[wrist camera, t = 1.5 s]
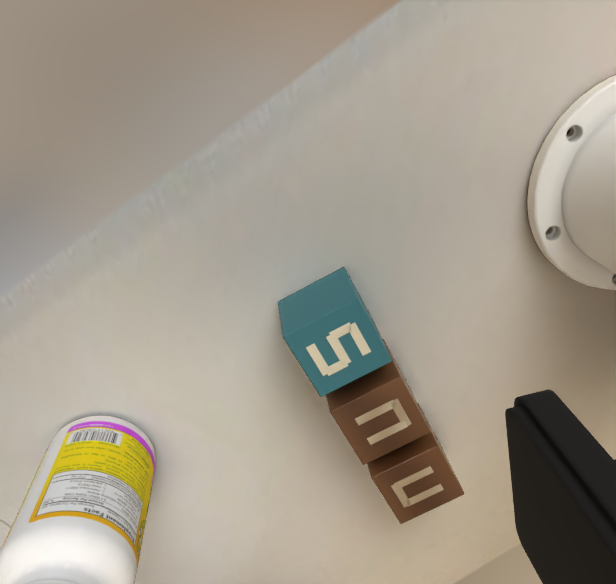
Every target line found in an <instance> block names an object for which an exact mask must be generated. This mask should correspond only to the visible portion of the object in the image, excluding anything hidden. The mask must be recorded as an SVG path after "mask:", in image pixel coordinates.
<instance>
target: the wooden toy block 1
mask: <svg viewBox="0 0 616 584" xmlns="http://www.w3.org/2000/svg"><path fill="white" fill-rule="evenodd" d="M382 340H383V339H382ZM383 342H384V344H385V346H386V348H387V350H388V353H389V355H390V357H391V359H392V361H391V362H390V363H388V364H386V365H384V366H382V367H380V368H378V369H376V370H374V371H372V372H370V373H368V374H366V375H364V376H362V377H360V378H358V379H356V380H354V381H352V382H350V383H348V384H346V385H344V386H342V387H340V388H338V389H336V390H334V391H332V392H330V393H328V394H326V397H327V401H328V405H329V409H330V413H331V414H332V416H333V417H334V419H335V421H336V422H337V424H338V425H339V427H340V429H341V430H342V432H343V433H344V435H345V436H346V438H347V440H348V441H349V443H350V444H351V446H352V448H353V449H354V451H355V452H356V454H357V455H358V457H359V459H360V460H361V462H362V463H363V465H364V464H366V463H368V462H370V461H372V460H375V459H377V458H379V457H381V456H383V455H385V454H387V453H389V452H391V451H393V450H395V449H397V448H399V447H401V446H403V445H405V444H407V443H409V442H411V441H413V440H416V439H418V438H420V437H422V436H424V435H426V434H428V433H430V432H431V431H430V429H429V427H428V425H427V423H426V420H425V418H424V416H423V414H422V412H421V410H420V408H419V406H418V404H417V402H416V400H415V398H414V396H413V394H412V391H411V389H410V388H409V386H408V384H407V382H406V380H405V378H404V377H403V375H402V373H401V371H400V369H399V367H398V365H397V364H396V362H395V360H394V358H393V356H392V354H391V353H390V351H389V349H388V347H387V345H386V343H385V341H384V340H383Z"/></svg>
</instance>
